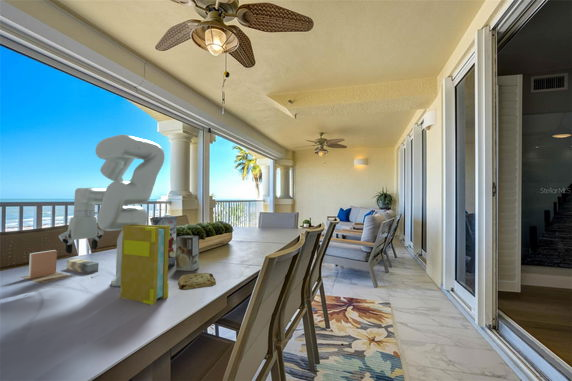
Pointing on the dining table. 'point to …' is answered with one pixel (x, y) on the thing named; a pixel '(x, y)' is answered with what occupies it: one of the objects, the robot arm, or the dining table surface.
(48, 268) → the tile
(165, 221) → the juice carton
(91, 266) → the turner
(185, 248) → the coffee box
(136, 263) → the book
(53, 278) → the board
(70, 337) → the dining table surface
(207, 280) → the pastry
